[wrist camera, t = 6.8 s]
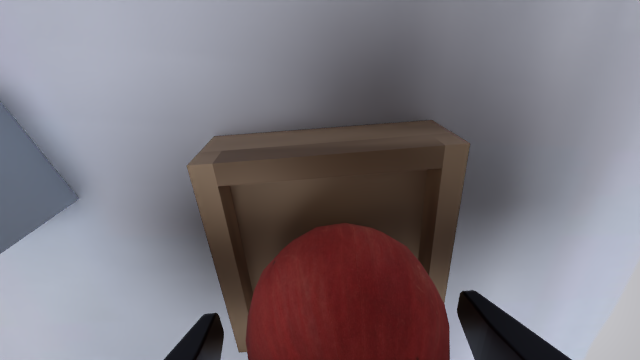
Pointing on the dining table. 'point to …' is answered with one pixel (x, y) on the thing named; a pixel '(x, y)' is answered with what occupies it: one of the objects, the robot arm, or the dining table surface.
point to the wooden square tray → (326, 196)
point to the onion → (346, 301)
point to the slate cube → (26, 184)
